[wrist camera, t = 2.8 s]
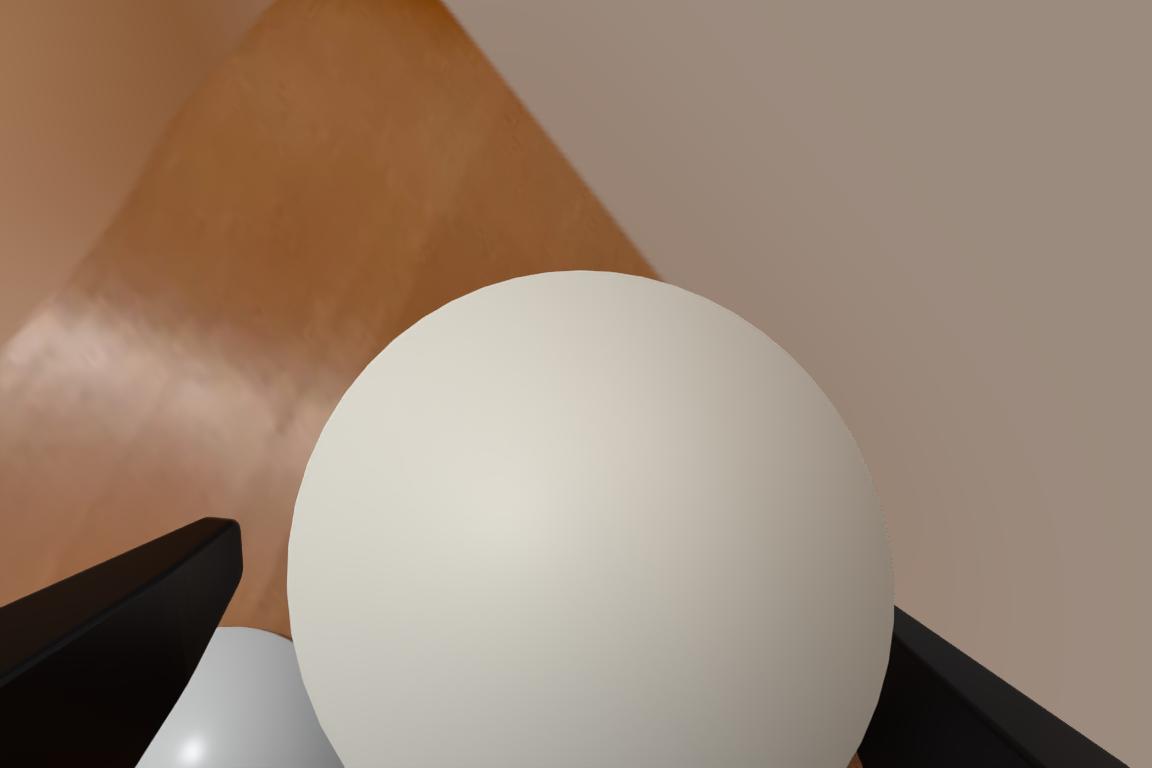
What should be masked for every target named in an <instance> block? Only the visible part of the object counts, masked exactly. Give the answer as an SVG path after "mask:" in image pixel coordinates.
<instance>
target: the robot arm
mask: <svg viewBox="0 0 1152 768" xmlns="http://www.w3.org/2000/svg"><path fill="white" fill-rule="evenodd" d="M242 572H243V556H242V542H241V530H240V525H239V523H238V522H237V521H235V520H234V519H227V518H217V517H205V518H202V519H200V520H198V521H195V522H193V523H191V524H189V525H186V526H184V527H182V528H179V529H177V530H175V531H173V532H170V533H168V534H166V535H164V536H161V537H159V538H157V539H155V540H152V541H150V542H148V543H145V544H143V545H141V546H139V547H136V548H134V549H132V550H130V551H127V552H125V553H123V554H121V555H118V556H116V557H114V558H111V559H109V560H107V561H105V562H102V563H100V564H98V565H96V566H93V567H91V568H89V569H87V570H84V571H82V572H80V573H77V574H75V575H73V576H71V577H68V578H66V579H64V580H62V581H59V582H57V583H55V584H53V585H50V586H48V587H46V588H43V589H41V590H39V591H37V592H34V593H32V594H30V595H28V596H25V597H23V598H21V599H18V600H16V601H14V602H12V603H9V604H7V605H5V606H3V607H0V768H135V767H136V766H137V764H138V763H139V761H140V759H141V758H142V756H143V755H144V753H145V752H146V750H147V748H148V747H149V745H150V744H151V742H152V741H153V739H154V737H155V736H156V734H157V733H158V731H159V730H160V728H161V726H162V725H163V723H164V722H165V720H166V719H167V717H168V715H169V714H170V712H171V711H172V709H173V708H174V706H175V704H176V703H177V701H178V700H179V698H180V696H181V695H182V693H183V691H184V690H185V688H186V686H187V685H188V683H189V681H190V679H191V677H192V676H193V674H194V672H195V670H196V668H197V666H198V664H199V662H200V660H201V658H202V656H203V654H204V652H205V650H206V648H207V646H208V644H209V642H210V640H211V638H212V636H213V634H214V632H215V630H216V628H217V627H218V625H219V623H220V621H221V619H222V617H223V615H224V613H225V611H226V609H227V607H228V605H229V603H230V601H231V599H232V597H233V595H234V593H235V591H236V589H237V587H238V585H239V582H240V580H241V577H242ZM857 753H858V756H859V759H860V761H861V764H862V766H863V768H1129V767H1128V766H1127V765H1126V764H1124V763H1123V762H1122V761H1120V760H1119V759H1117V758H1115V757H1114V756H1113V755H1111V754H1110V753H1108V752H1107V751H1105V750H1104V749H1103V748H1101V747H1100V746H1098V745H1097V744H1095V743H1094V742H1092V741H1091V740H1089V739H1088V738H1087V737H1085V736H1084V735H1082V734H1081V733H1079V732H1078V731H1076V730H1075V729H1074V728H1072V727H1071V726H1069V725H1068V724H1066V723H1065V722H1063V721H1062V720H1060V719H1059V718H1058V717H1056V716H1055V715H1053V714H1052V713H1050V712H1049V711H1047V710H1046V709H1044V708H1043V707H1042V706H1040V705H1039V704H1037V703H1036V702H1034V701H1033V700H1031V699H1030V698H1028V697H1027V696H1026V695H1024V694H1023V693H1021V692H1020V691H1018V690H1017V689H1015V688H1014V687H1013V686H1011V685H1010V684H1008V683H1007V682H1005V681H1004V680H1002V679H1001V678H1000V677H998V676H996V675H995V674H994V673H992V672H991V671H989V670H988V669H986V668H985V667H984V666H982V665H981V664H979V663H978V662H976V661H975V660H973V659H972V658H971V657H969V656H968V655H966V654H965V653H963V652H962V651H960V650H959V649H957V648H956V647H955V646H953V645H952V644H950V643H949V642H947V641H946V640H944V639H943V638H941V637H940V636H939V635H937V634H936V633H934V632H933V631H931V630H930V629H928V628H927V627H926V626H924V625H923V624H921V623H920V622H918V621H917V620H915V619H914V618H912V617H911V616H910V615H908V614H906V613H905V612H903V611H902V610H901V609H899V608H898V607H896V606H895V605H894V624H893V632H892V639H891V647H890V654H889V662H888V666H887V670H886V673H885V677H884V681H883V685H882V688H881V692H880V696H879V700H878V703H877V706H876V708H875V711H874V713H873V715H872V718H871V720H870V723H869V725H868V727H867V730H866V732H865V735H864V737H863V739H862V742H861V744H860V746H859V747H858V749H857Z"/></svg>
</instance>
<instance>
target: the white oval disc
mask: <svg viewBox="0 0 1152 768" xmlns="http://www.w3.org/2000/svg"><path fill="white" fill-rule="evenodd" d="M135 768H345V767H344V765H343V763H342V762H341V760H340V758H339V756H338V755H337V753H336V751H335V750H334V748H333V746H332V744H331V743H330V741H329V739H328V738H327V736H326V734H325V732H324V731H323V729H322V727H321V725H320V723H319V720H318V718H317V715H316V713H315V710H314V708H313V705H312V703H311V700H310V698H309V695H308V693H307V690H306V688H305V685H304V683H303V680H302V676H301V672H300V668H299V663H298V659H297V655H296V651H295V647H294V643H293V640H291V639H289V638H286V637H284V636H282V635H280V634H277V633H274V632H270V631H266V630H262V629H256V628H247V627H218V628H216V630H215V632H214V634H213V636H212V638H211V640H210V642H209V644H208V646H207V648H206V650H205V652H204V654H203V656H202V658H201V660H200V662H199V664H198V666H197V668H196V670H195V672H194V674H193V676H192V677H191V679H190V681H189V683H188V685H187V686H186V688H185V690H184V691H183V693H182V695H181V696H180V698H179V700H178V701H177V703H176V704H175V706H174V708H173V709H172V711H171V712H170V714H169V715H168V717H167V719H166V720H165V722H164V723H163V725H162V726H161V728H160V730H159V731H158V733H157V734H156V736H155V737H154V739H153V741H152V742H151V744H150V745H149V747H148V748H147V750H146V752H145V753H144V755H143V756H142V758H141V759H140V761H139V763H138V764H137V766H136V767H135Z"/></svg>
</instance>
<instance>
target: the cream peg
mask: <svg viewBox="0 0 1152 768" xmlns="http://www.w3.org/2000/svg"><path fill="white" fill-rule="evenodd" d="M287 595H288V605H289V614H290V624H291V634H292V639H293V643H294V647H295V651H296V655H297V659H298V663H299V668H300V672H301V676H302V680H303V683H304V685H305V688H306V690H307V693H308V695H309V698H310V700H311V703H312V705H313V708H314V710H315V713H316V715H317V718H318V720H319V723H320V725H321V727H322V729H323V731H324V732H325V734H326V736H327V738H328V739H329V741H330V743H331V744H332V746H333V748H334V750H335V751H336V753H337V755H338V756H339V758H340V760H341V762H342V763H343V765H344V767H345V768H847V766H848V764H849V762H850V761H851V759H852V757H853V756H854V754H855V752H856V751H857V749H858V747H859V746H860V744H861V742H862V739H863V737H864V735H865V732H866V730H867V727H868V725H869V723H870V720H871V718H872V715H873V713H874V711H875V708H876V706H877V703H878V700H879V696H880V692H881V688H882V685H883V681H884V677H885V673H886V670H887V666H888V662H889V654H890V647H891V639H892V632H893V624H894V575H893V567H892V557H891V548H890V541H889V536H888V532H887V528H886V523H885V519H884V515H883V511H882V506H881V503H880V500H879V498H878V494H877V491H876V489H875V486H874V483H873V480H872V478H871V474H870V472H869V469H868V467H867V465H866V463H865V461H864V458H863V456H862V454H861V453H860V450H859V449H858V446H857V444H856V442H855V440H854V438H853V436H852V435H851V433H850V431H849V429H848V428H847V426H846V425H845V423H844V421H843V420H842V418H841V417H840V415H839V413H838V412H837V410H836V409H835V407H834V405H833V404H832V403H831V402H830V400H829V399H828V398H827V396H826V395H825V394H824V393H823V391H822V390H821V389H820V388H819V386H818V385H817V384H816V383H815V381H814V380H813V379H812V377H811V376H810V375H809V374H808V373H807V372H806V371H805V370H804V369H803V368H802V367H801V366H800V365H799V364H798V363H797V362H796V361H795V360H794V359H793V358H792V357H791V356H790V355H789V354H788V353H787V352H786V351H785V350H783V349H782V348H781V347H780V346H779V345H778V344H776V343H775V342H774V341H773V340H771V339H770V338H769V337H768V336H767V335H765V334H764V333H763V332H762V331H760V330H759V329H757V328H756V327H754V326H753V325H751V324H750V323H748V322H747V321H745V320H744V319H742V318H741V317H739V316H738V315H736V314H735V313H733V312H731V311H729V310H727V309H725V308H724V307H722V306H720V305H718V304H716V303H714V302H712V301H710V300H708V299H707V298H704V297H702V296H699V295H697V294H694V293H692V292H689V291H687V290H684V289H682V288H679V287H677V286H674V285H670V284H666V283H663V282H659V281H656V280H652V279H648V278H645V277H639V276H633V275H627V274H621V273H615V272H600V271H581V270H579V271H563V272H547V273H541V274H536V275H530V276H524V277H518V278H514V279H511V280H507V281H504V282H500V283H497V284H494V285H490V286H487V287H484V288H481V289H479V290H477V291H474V292H472V293H470V294H467V295H465V296H463V297H460V298H458V299H456V300H453V301H451V302H450V303H448V304H446V305H444V306H443V307H441V308H439V309H438V310H436V311H434V312H432V313H431V314H429V315H427V316H425V317H424V318H422V319H421V320H420V321H418V322H417V323H416V324H414V325H413V326H412V327H410V328H409V329H408V330H406V331H405V332H404V333H402V334H401V335H400V336H398V337H397V338H396V339H394V340H393V341H392V342H391V343H390V344H389V345H388V346H387V347H386V348H385V349H384V350H383V351H382V352H381V353H380V354H379V355H378V356H377V357H376V358H375V359H374V360H373V361H371V362H370V363H369V364H368V366H367V367H366V368H365V369H364V371H363V372H362V373H361V374H360V375H359V377H358V378H357V379H356V380H355V382H354V383H353V384H352V385H351V387H350V388H349V389H348V390H347V392H346V393H345V394H344V396H343V397H342V399H341V401H340V402H339V404H338V405H337V407H336V409H335V410H334V412H333V414H332V415H331V417H330V418H329V420H328V422H327V423H326V425H325V426H324V429H323V431H322V433H321V435H320V437H319V440H318V442H317V444H316V446H315V448H314V451H313V453H312V455H311V457H310V459H309V462H308V464H307V467H306V471H305V474H304V477H303V480H302V484H301V487H300V490H299V493H298V497H297V500H296V504H295V510H294V516H293V521H292V527H291V533H290V539H289V545H288V574H287Z"/></svg>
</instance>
